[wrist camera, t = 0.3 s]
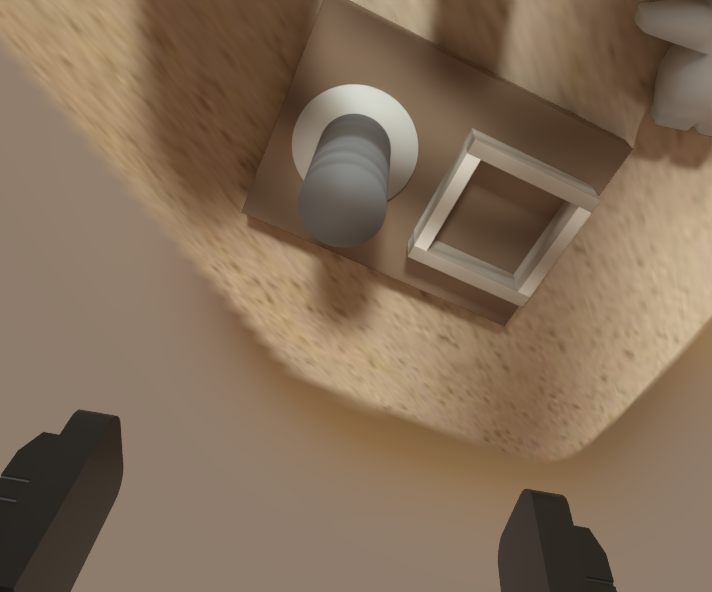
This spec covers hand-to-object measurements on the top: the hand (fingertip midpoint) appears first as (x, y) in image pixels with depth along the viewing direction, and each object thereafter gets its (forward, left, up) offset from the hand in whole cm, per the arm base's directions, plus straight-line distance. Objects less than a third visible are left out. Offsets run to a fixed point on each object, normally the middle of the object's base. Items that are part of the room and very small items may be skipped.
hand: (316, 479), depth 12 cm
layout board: (+2, +4, -27) cm, 27 cm away
